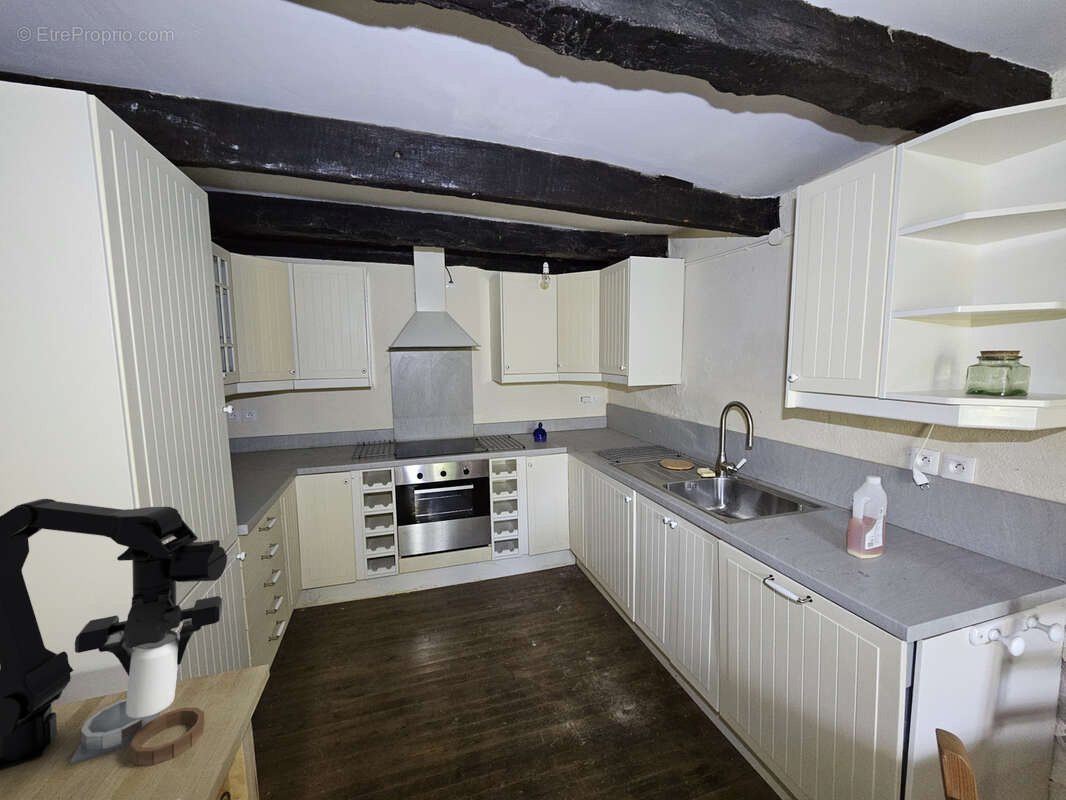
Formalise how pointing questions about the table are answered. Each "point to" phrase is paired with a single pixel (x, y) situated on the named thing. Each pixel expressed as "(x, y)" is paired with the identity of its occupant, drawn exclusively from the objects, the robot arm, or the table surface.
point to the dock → (108, 731)
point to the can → (152, 677)
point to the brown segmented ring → (172, 748)
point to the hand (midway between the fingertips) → (155, 669)
